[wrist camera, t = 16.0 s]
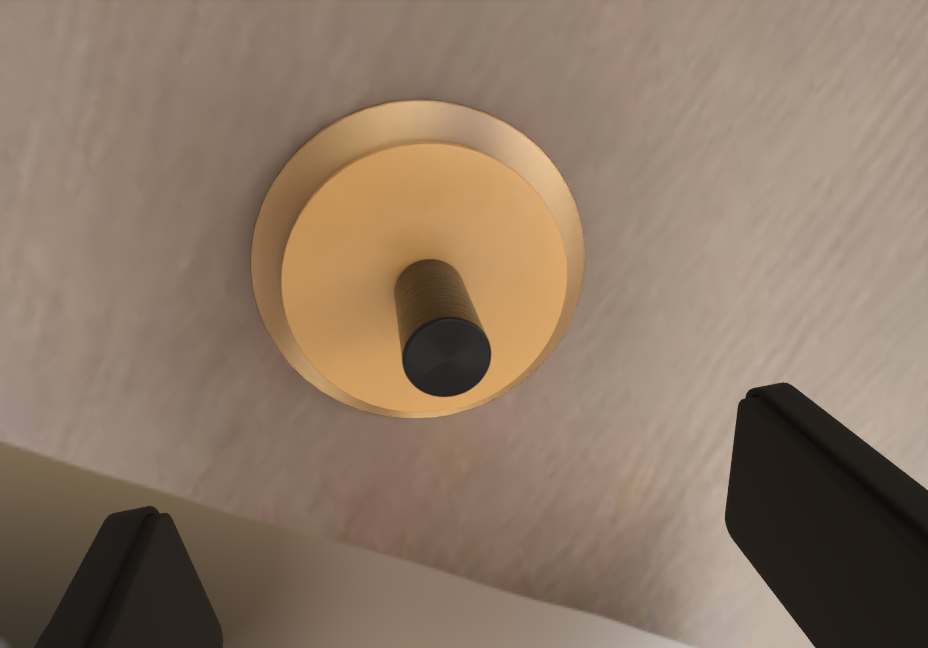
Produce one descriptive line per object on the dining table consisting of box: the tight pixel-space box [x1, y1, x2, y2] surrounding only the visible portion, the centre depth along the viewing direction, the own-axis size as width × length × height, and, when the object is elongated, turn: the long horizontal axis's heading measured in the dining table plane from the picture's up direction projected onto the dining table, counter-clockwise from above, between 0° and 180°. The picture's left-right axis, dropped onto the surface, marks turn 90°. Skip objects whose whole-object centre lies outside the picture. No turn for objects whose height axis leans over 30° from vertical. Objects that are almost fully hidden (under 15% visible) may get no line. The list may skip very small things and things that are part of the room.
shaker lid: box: [281, 141, 567, 413], centre depth 18 cm, size 10×10×6 cm
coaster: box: [251, 99, 584, 418], centre depth 21 cm, size 12×12×1 cm
